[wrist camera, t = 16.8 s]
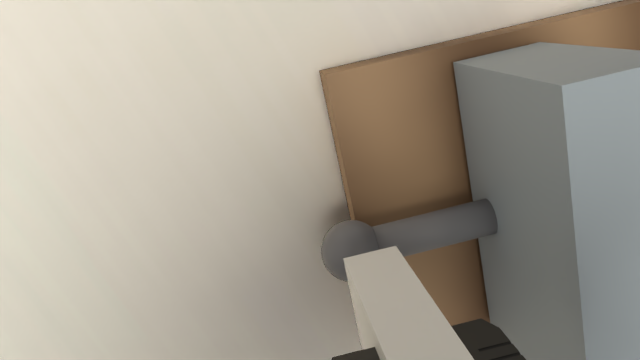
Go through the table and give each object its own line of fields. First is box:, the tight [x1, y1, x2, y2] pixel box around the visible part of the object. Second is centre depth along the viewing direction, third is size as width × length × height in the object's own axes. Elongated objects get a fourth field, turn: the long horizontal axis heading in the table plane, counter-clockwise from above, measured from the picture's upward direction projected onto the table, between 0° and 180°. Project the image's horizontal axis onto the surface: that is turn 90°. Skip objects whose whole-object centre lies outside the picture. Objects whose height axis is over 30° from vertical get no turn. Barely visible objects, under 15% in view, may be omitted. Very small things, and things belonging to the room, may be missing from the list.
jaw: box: [321, 42, 640, 360], centre depth 17 cm, size 9×10×7 cm
